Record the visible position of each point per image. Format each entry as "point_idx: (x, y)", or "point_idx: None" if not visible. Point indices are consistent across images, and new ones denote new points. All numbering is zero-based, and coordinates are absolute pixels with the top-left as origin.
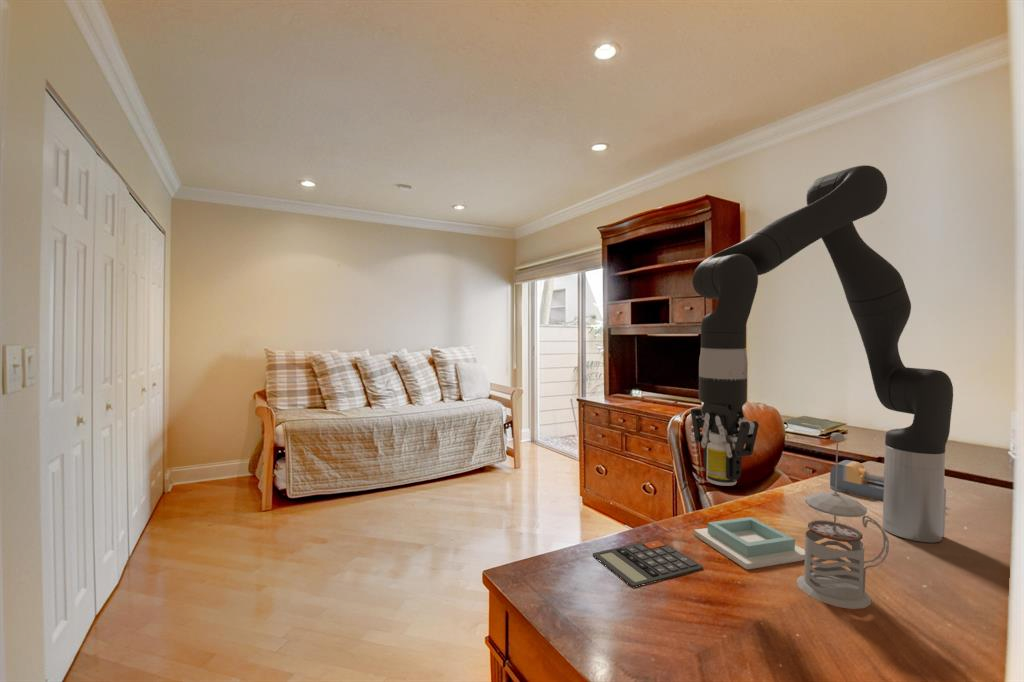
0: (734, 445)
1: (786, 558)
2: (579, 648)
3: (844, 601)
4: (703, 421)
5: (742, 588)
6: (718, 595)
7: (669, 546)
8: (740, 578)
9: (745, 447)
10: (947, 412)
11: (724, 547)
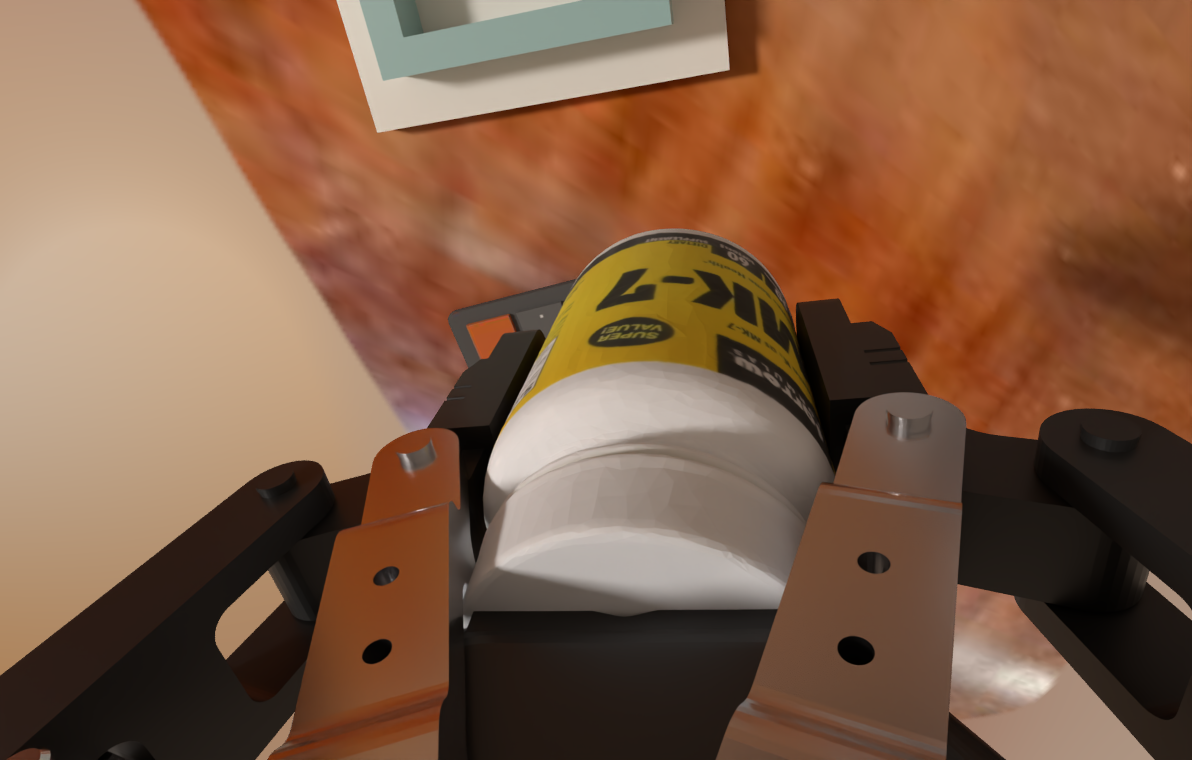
0: (762, 455)
1: None
2: (957, 695)
3: None
4: (139, 738)
5: (855, 183)
6: (870, 300)
7: (512, 300)
8: (786, 143)
9: (1089, 514)
10: None
11: (565, 83)
